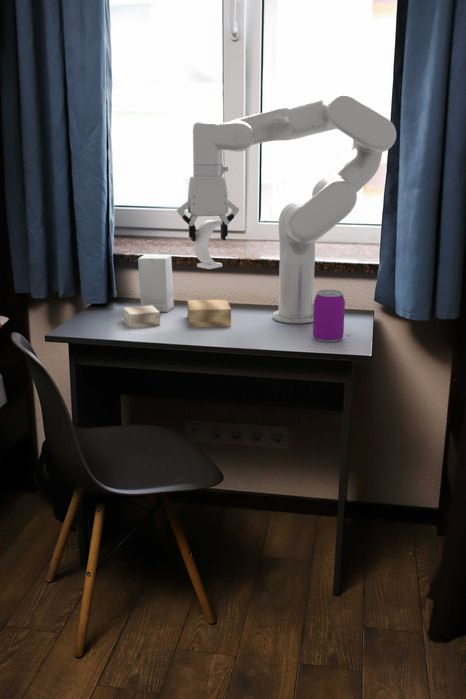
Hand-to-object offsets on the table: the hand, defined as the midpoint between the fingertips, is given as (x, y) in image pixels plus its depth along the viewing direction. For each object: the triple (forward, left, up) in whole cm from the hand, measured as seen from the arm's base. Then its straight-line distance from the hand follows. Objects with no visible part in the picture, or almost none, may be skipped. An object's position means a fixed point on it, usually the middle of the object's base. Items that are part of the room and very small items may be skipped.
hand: (208, 239), depth 211 cm
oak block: (0, 0, -23) cm, 23 cm away
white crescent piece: (0, 0, -8) cm, 8 cm away
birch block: (+18, -2, -23) cm, 29 cm away
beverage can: (-26, +23, -23) cm, 41 cm away
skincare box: (+12, -16, -23) cm, 30 cm away
